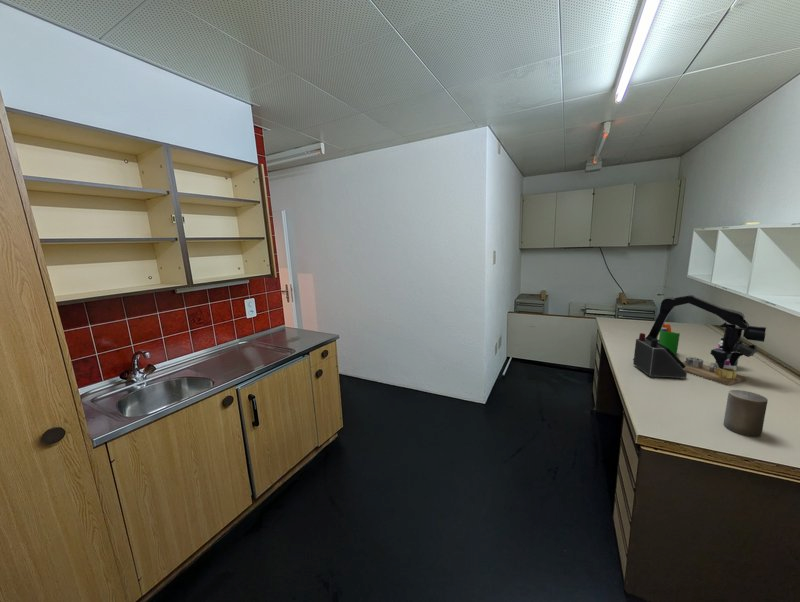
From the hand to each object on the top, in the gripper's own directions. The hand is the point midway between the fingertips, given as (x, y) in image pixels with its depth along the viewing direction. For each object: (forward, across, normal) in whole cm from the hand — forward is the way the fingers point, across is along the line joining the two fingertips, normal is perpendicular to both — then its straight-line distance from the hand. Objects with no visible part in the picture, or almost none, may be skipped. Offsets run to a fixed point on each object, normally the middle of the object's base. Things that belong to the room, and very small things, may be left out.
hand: (726, 367), depth 153 cm
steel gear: (+5, +2, +14) cm, 15 cm away
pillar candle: (+7, -47, -26) cm, 54 cm away
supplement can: (+7, +18, +8) cm, 21 cm away
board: (+7, +1, +8) cm, 10 cm away
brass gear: (+5, 0, 0) cm, 5 cm away
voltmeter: (+7, -20, +18) cm, 28 cm away
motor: (+7, +11, +32) cm, 34 cm away
